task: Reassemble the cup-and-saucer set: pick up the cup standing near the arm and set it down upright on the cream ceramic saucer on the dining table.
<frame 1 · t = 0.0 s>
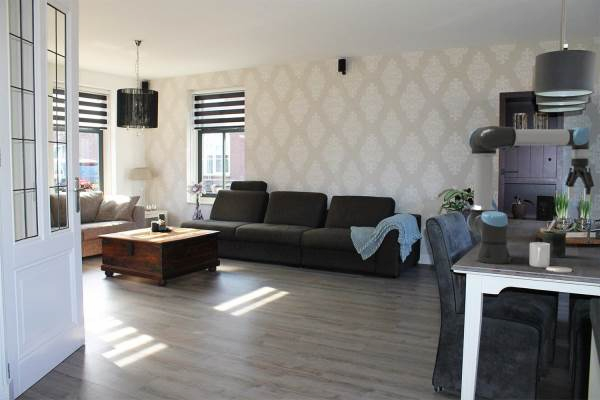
hand: (578, 200, 257), 28 cm above the table, fingers open, 13 cm apart
saucer: (558, 270, 221), on the table
cup: (539, 266, 230), on the table
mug: (550, 256, 258), on the table
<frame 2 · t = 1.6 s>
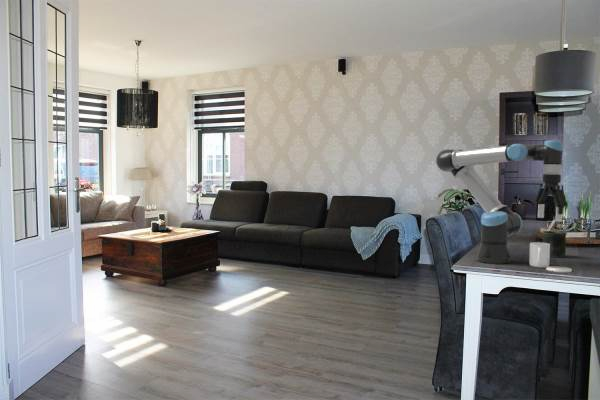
hand: (549, 219, 237), 20 cm above the table, fingers open, 13 cm apart
nothing on the table moved.
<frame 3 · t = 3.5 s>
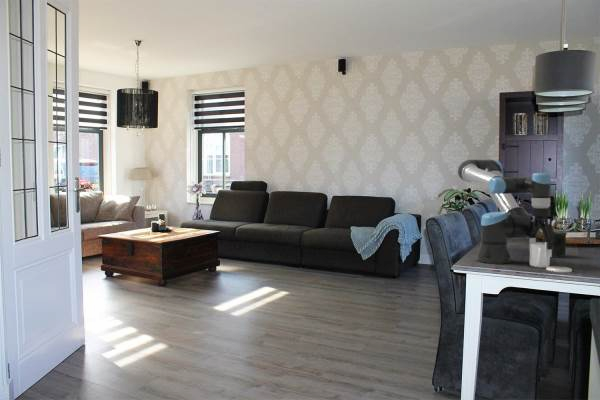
hand: (540, 254, 229), 6 cm above the table, fingers open, 13 cm apart
nothing on the table moved.
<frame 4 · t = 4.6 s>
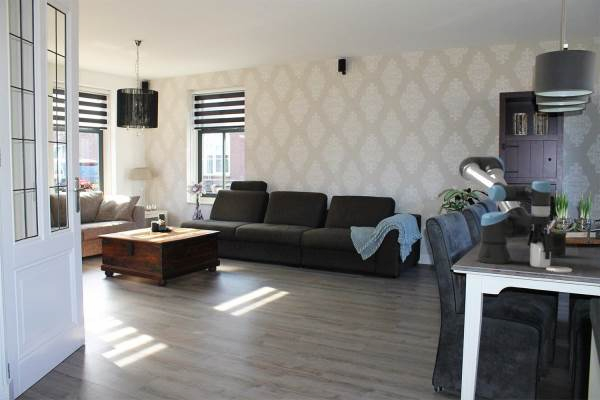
hand: (539, 264, 230), 1 cm above the table, fingers closed on cup, 10 cm apart
cup: (539, 267, 229), on the table, touching gripper
everything else where it was.
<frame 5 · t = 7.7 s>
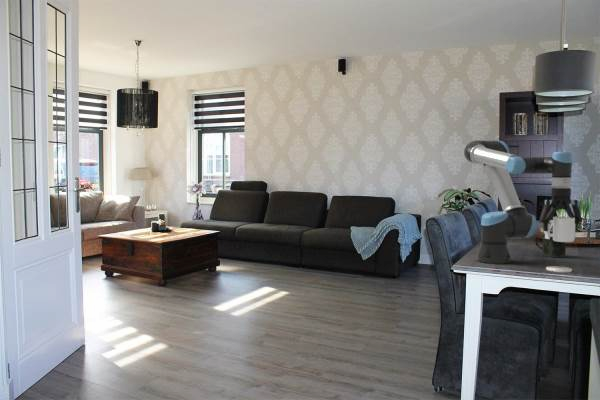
hand: (559, 238, 220), 14 cm above the table, fingers closed on cup, 10 cm apart
cup: (558, 241, 221), point 13 cm above the table, touching gripper
everything else where it was.
when the fingers open (3 cm above the table, at t = 10.5 s): cup stays where it is, resting on saucer.
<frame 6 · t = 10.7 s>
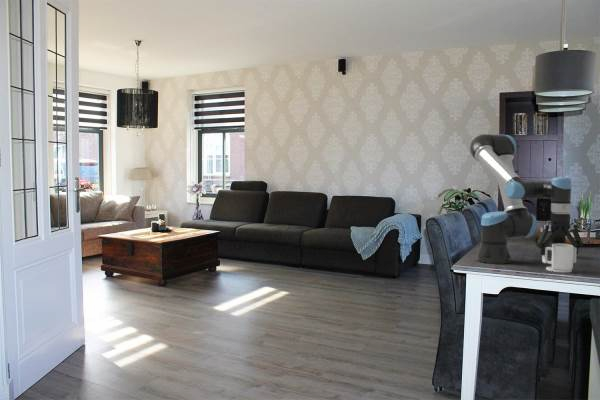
hand: (559, 262, 221), 3 cm above the table, fingers open, 12 cm apart
cup: (557, 268, 222), point 1 cm above the table, touching saucer
everything else where it was.
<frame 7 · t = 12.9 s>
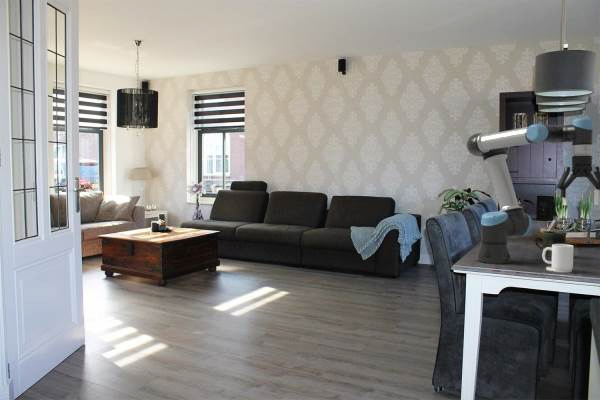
hand: (581, 205, 217), 29 cm above the table, fingers open, 13 cm apart
nothing on the table moved.
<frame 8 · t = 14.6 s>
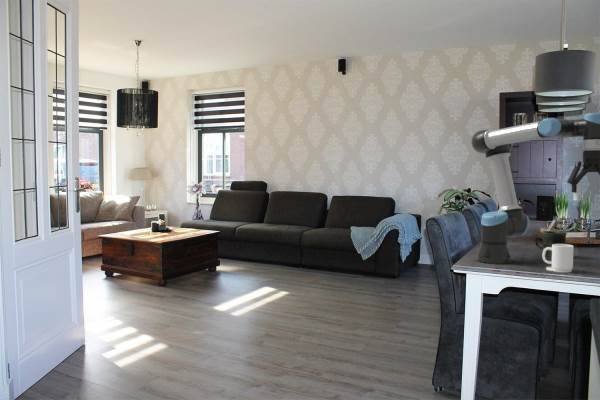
hand: (591, 200, 216), 31 cm above the table, fingers open, 13 cm apart
nothing on the table moved.
at the end: cup inside the target area on the saucer (0.6 cm from its centre), point 0.7 cm above the saucer's base; cup tilted 0°; the gripper is holding nothing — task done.
